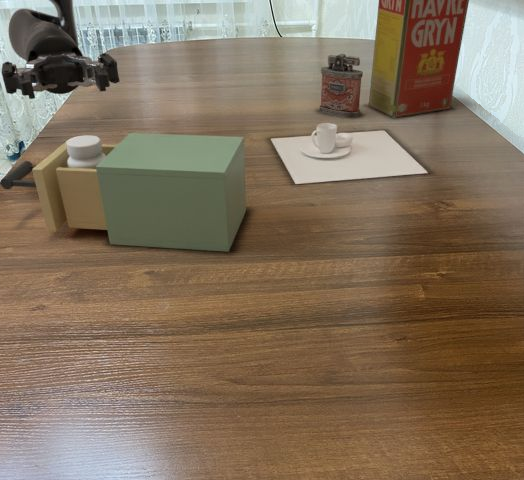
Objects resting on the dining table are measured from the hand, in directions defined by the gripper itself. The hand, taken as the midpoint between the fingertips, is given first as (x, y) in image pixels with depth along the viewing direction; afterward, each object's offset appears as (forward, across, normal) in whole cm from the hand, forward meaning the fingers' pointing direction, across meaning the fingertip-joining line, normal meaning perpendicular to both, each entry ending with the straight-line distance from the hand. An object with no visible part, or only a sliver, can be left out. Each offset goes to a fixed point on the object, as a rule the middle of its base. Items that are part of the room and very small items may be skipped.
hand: (66, 86), depth 74 cm
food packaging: (-21, +63, +15) cm, 68 cm away
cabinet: (+12, +10, +15) cm, 22 cm away
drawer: (+6, 0, +14) cm, 15 cm away
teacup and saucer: (-3, +40, +15) cm, 43 cm away
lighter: (-23, +49, +15) cm, 56 cm away
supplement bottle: (+7, 0, +13) cm, 15 cm away
